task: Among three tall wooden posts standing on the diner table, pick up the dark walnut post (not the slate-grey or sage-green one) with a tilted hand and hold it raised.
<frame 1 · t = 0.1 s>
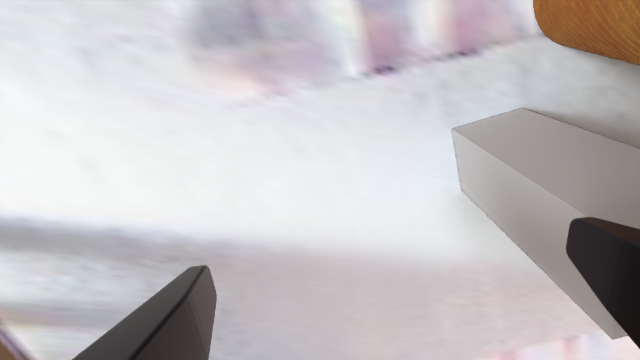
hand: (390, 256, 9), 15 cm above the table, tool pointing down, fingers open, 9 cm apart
grey post: (490, 150, 24), on the table
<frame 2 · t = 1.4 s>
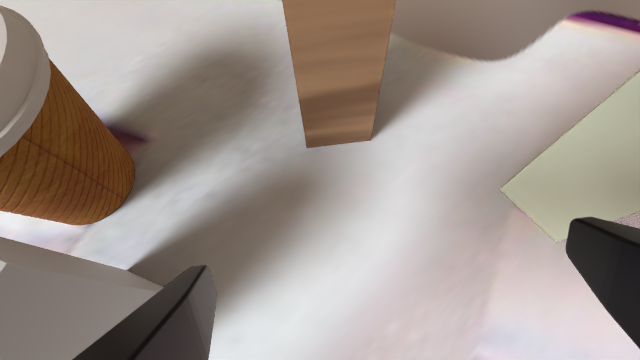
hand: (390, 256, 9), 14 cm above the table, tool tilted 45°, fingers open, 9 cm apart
walnut post: (334, 116, 26), on the table
sage post: (550, 194, 23), on the table
grey post: (136, 320, 22), on the table
disposable coffee cup: (92, 182, 25), on the table
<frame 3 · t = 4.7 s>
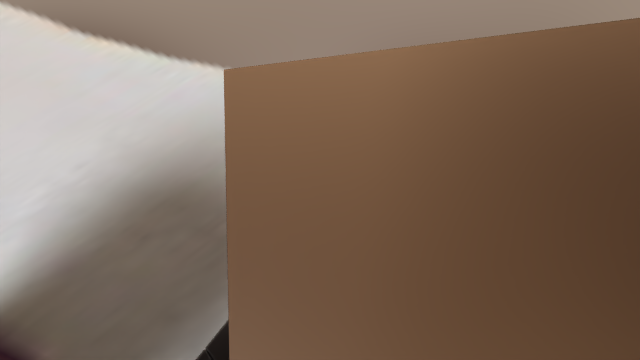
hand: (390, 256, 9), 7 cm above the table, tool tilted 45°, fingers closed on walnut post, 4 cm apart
walnut post: (374, 321, 15), on the table, touching gripper
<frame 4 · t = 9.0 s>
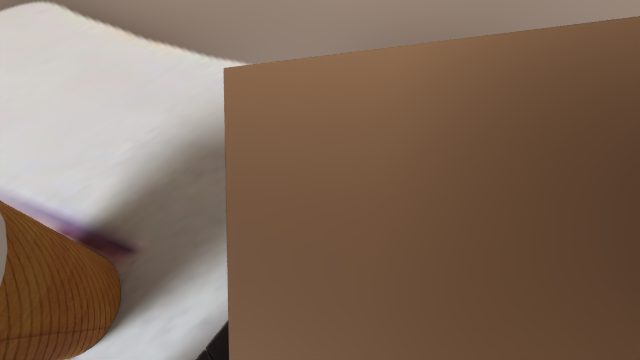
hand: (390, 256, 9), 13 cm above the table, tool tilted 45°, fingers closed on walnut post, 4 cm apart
walnut post: (374, 320, 15), point 7 cm above the table, touching gripper
disposable coffee cup: (72, 303, 22), on the table
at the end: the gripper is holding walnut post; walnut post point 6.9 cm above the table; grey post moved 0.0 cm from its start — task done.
